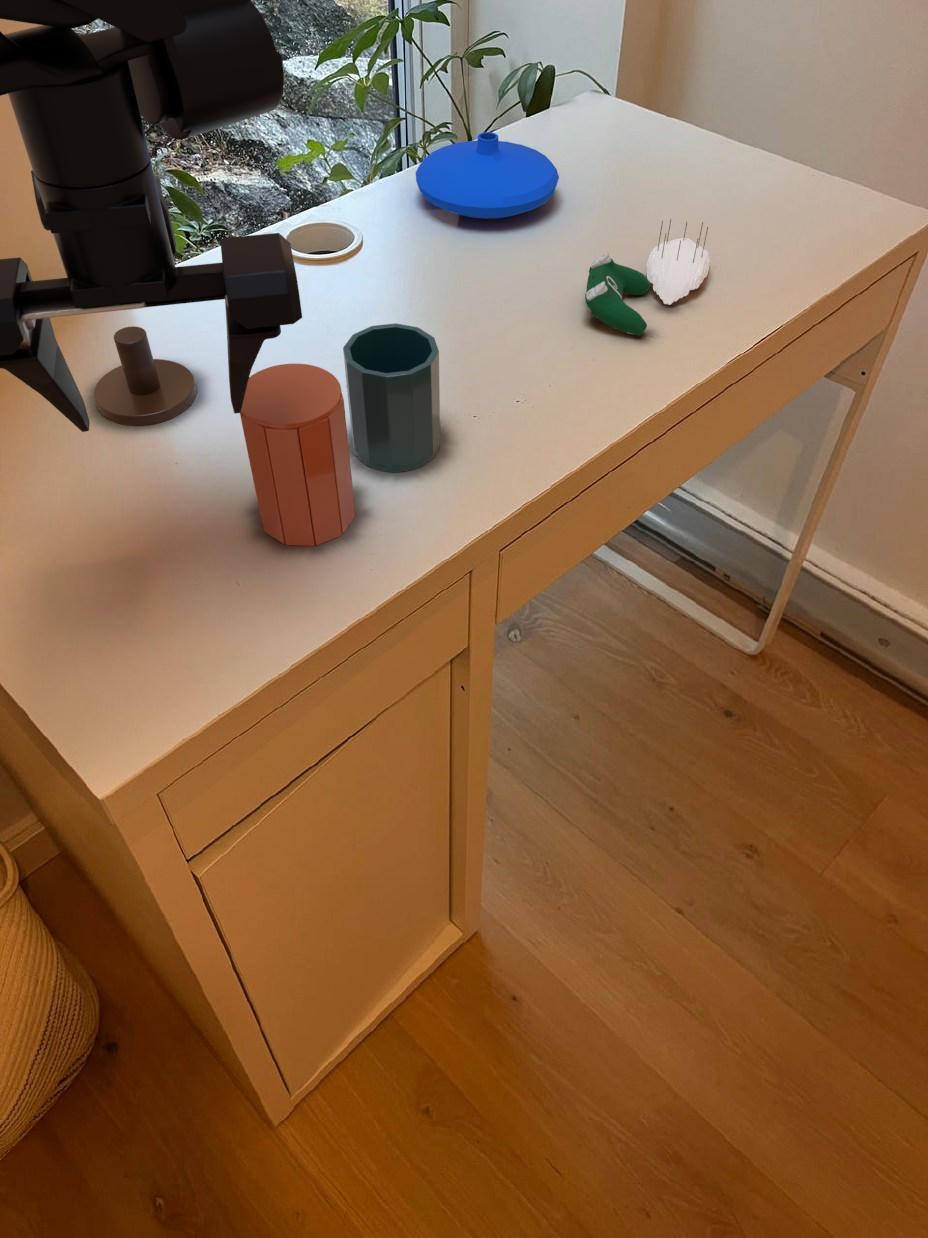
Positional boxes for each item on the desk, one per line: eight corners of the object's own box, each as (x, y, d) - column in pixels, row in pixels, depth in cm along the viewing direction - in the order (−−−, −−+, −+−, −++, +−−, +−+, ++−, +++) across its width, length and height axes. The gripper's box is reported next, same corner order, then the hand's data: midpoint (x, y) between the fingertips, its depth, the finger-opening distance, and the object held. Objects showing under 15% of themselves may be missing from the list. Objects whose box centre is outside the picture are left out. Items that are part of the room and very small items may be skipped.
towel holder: (95, 431, 81) (73, 369, 76) (98, 374, 86) (79, 313, 82) (198, 419, 82) (183, 357, 77) (195, 363, 87) (181, 302, 83)
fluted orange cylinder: (243, 532, 73) (216, 411, 64) (289, 474, 77) (269, 353, 69) (327, 556, 71) (310, 435, 63) (369, 495, 76) (359, 374, 67)
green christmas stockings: (622, 303, 98) (584, 261, 95) (653, 281, 96) (614, 236, 93) (617, 354, 92) (576, 310, 89) (650, 332, 90) (608, 286, 87)
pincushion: (655, 244, 102) (664, 191, 98) (714, 253, 101) (725, 199, 97) (635, 302, 95) (643, 246, 91) (698, 312, 94) (709, 256, 89)
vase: (582, 193, 110) (588, 128, 105) (509, 249, 102) (512, 181, 96) (466, 159, 116) (466, 96, 111) (387, 210, 107) (384, 144, 102)
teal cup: (359, 477, 77) (350, 380, 70) (348, 424, 82) (338, 329, 75) (446, 466, 78) (445, 369, 71) (430, 414, 83) (428, 319, 76)
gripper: (266, 90, 56) (299, 332, 67) (-79, 115, 53) (18, 363, 65) (283, 174, 48) (317, 429, 60) (-116, 208, 46) (0, 468, 57)
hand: (162, 418), depth 61 cm, fingers open, 9 cm apart
